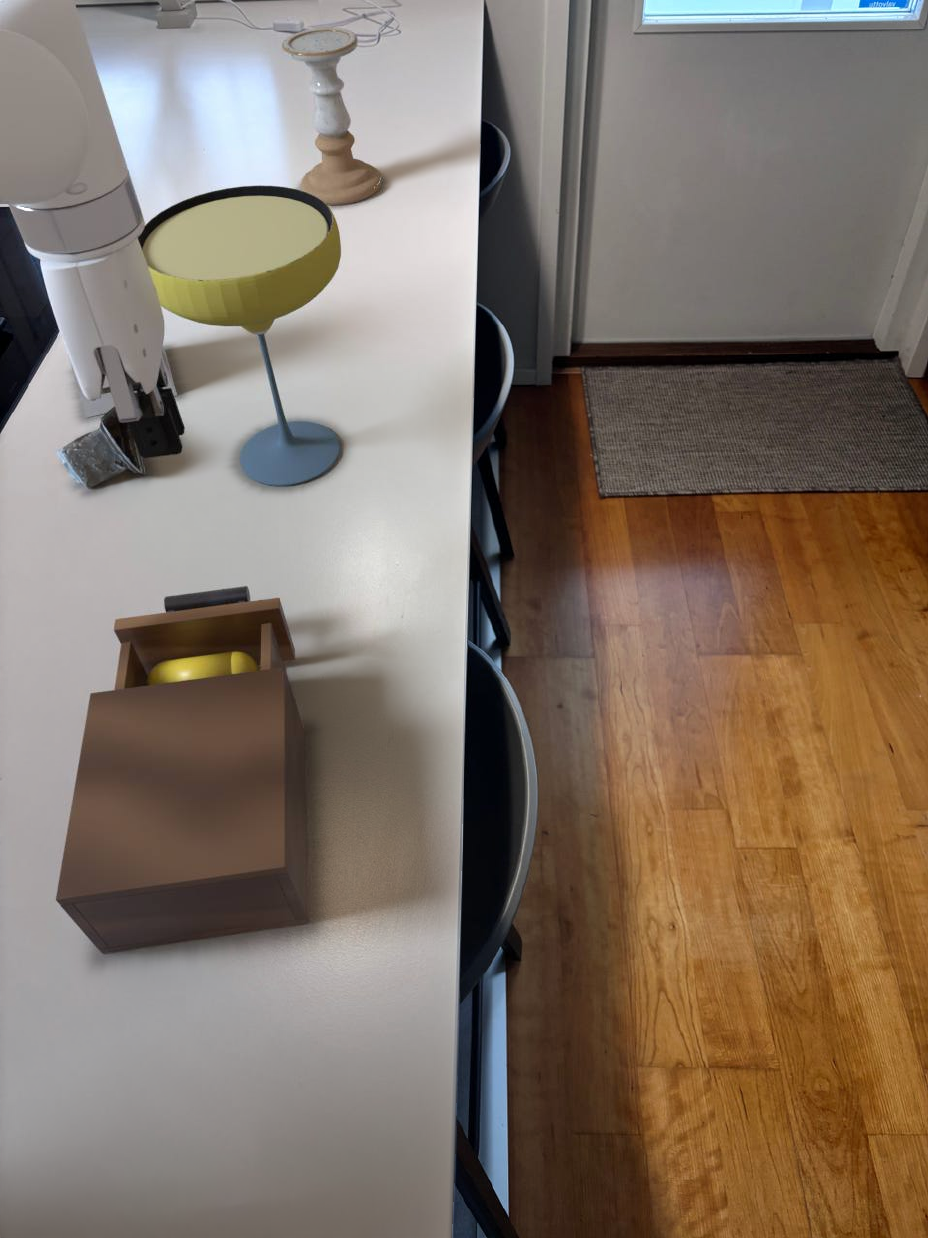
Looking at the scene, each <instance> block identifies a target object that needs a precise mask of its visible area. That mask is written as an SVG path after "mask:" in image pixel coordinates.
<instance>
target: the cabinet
mask: <svg viewBox="0 0 928 1238" xmlns="http://www.w3.org/2000/svg"><path fill="white" fill-rule="evenodd" d="M285 668H286V666H285V667H281V668H274V669H266V670H259V671H251V672H244V673H237V674H229V675H222V676H215V677H207V678H200V679H192V680H185V681H178V682H170V683H163V684H155V685H148V686H141V687H133V688H126V689H119V690H114V689H112V690H105V691H104V690H103V691H97V692H91V693H90V695H89V701H88V705H87V712H86V716H85V717H86V719H85V722H84V723H85V724H84V729H83V736H82V740H81V741H82V742H81V747H80V754H79V759H78V765H77V772H76V777H75V783H74V789H73V794H72V802H71V806H70V811H69V819H68V823H67V829H66V836H65V842H64V849H63V853H62V860H61V866H60V872H59V877H58V883H57V890H56V895H55V901H56V903H58V904H59V906H60V907H61V908H62V909H63V911H64V912H65V913H66V914H67V915H68V916H69V917H70V919H71V920H72V921H73V922H74V924H75V925H76V926H77V927H78V928H79V929H80V931H81V932H82V933H83V934H84V935H85V936H86V937H87V938H88V939H89V941H90V942H91V943H92V944H93V946H95V948H96V949H97V950H98V951H99V952H100V953H101V954H108V953H115V952H123V951H128V950H129V951H130V950H135V949H136V950H137V949H143V948H149V947H156V946H164V945H170V944H176V943H177V944H178V943H184V942H191V941H197V940H198V941H199V940H204V939H211V938H217V937H218V938H219V937H224V936H225V937H226V936H232V935H239V934H245V933H252V932H259V931H264V930H265V931H266V930H271V929H272V930H273V929H279V928H280V929H281V928H286V927H293V926H299V925H300V926H301V925H306V924H309V923H310V899H309V898H310V895H309V893H310V892H309V887H310V885H309V846H308V844H309V843H308V841H309V840H308V839H309V837H308V796H307V795H308V794H307V793H308V791H307V787H308V786H307V741H306V729H305V726H304V722H303V720H302V717H301V714H300V711H299V707H298V703H297V701H296V698H295V694H294V691H293V688H292V685H291V682H290V680H289V675H288V673H286V671H287V669H286V670H285Z"/></svg>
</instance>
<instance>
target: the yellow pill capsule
mask: <svg viewBox="0 0 928 1238" xmlns="http://www.w3.org/2000/svg"><path fill="white" fill-rule="evenodd" d="M259 669H260V668H259V665H257V663H256V662H255V660H254V659H253V658H252V657H251V656H249V655H248V654H246V653H243V652H227V653H220V654H212V655H205V656H198V657H190V658H183V659H175V660H168V661H164V662H161V663H159V664H157V665H156V666H155V667H154V668H153V669H152V670H151V671H150V673H149V675H148V678H147V686H148V685H155V684H163V683H170V682H178V681H185V680H192V679H200V678H207V677H215V676H222V675H229V674H237V673H244V672H251V671H259Z"/></svg>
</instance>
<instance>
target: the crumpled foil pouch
mask: <svg viewBox="0 0 928 1238" xmlns="http://www.w3.org/2000/svg"><path fill="white" fill-rule="evenodd" d="M56 456H57V457H59V458H60V460H62V466H63V467H64V469H65V470H66V471H67V472H68V473H69V474H70V476H71V478H72V479H73V480H76V482H77V483H78V484H80V485H83V486H85V488H86V489H91V488H93V487H96V486H98V485H99V484H101V483H102V482H106V481H107V480H109V479H111V478H113V477H116V476H117V475H119V474H121V473H123V472H124V471H126V470H131V472H133V473H134V474H143V475H146V467H145V466H144V460H143V457H141V456H140V454H139V451H138V449H137V446H136V444H135V441H134V439H133V436H132V434H131V431H130V429H129V426H128V424H127V422H123V423H120V421H119V419H118V416H117V412H116V408H115V406H114V407H113V408H112V409H111V410H109V411H108V412H106V413H104V415H102V416H101V417H100V423H99V428H98V429H96V430H93V431H90V432H87V433H85V434H83V435H80V436H79V437H77V438H75V439H74V440H73V441H70V442H68V443H67V444H66V445H64V446H63V447H61V448H60V449H58V450H57V451H56Z"/></svg>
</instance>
